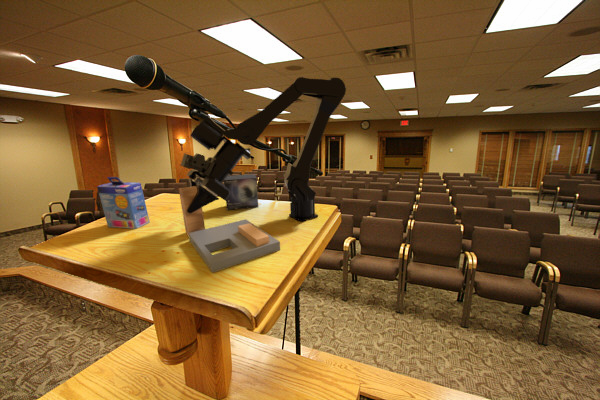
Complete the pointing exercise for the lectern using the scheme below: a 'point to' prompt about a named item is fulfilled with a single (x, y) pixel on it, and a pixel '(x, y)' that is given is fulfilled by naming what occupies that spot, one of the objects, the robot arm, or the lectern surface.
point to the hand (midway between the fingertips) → (186, 210)
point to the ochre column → (191, 219)
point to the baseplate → (232, 244)
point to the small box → (241, 191)
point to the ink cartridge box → (123, 204)
